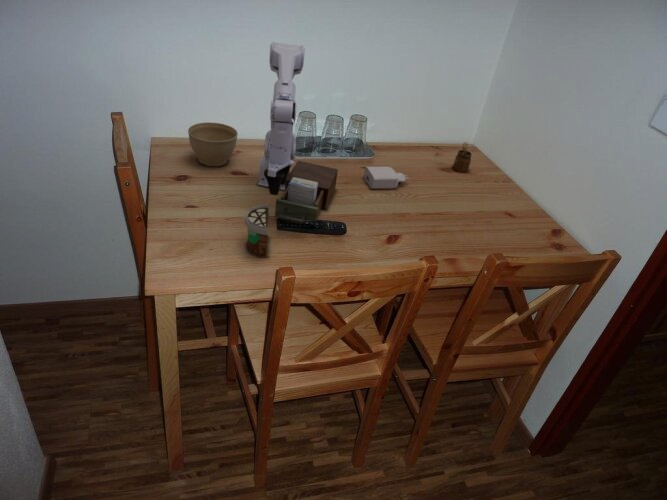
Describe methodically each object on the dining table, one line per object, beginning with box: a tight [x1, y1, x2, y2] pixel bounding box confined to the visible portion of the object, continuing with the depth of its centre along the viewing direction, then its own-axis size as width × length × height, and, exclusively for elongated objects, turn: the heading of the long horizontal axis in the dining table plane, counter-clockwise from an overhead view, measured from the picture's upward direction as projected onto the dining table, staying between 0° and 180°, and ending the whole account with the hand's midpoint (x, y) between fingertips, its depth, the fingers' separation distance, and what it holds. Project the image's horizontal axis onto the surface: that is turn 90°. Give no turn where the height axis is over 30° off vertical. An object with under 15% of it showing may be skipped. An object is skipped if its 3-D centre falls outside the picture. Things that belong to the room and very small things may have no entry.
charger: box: [363, 166, 410, 190], centre depth 178 cm, size 5×9×15 cm
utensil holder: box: [452, 141, 472, 173], centre depth 194 cm, size 6×6×12 cm
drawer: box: [274, 185, 325, 225], centre depth 151 cm, size 19×12×6 cm, turn 168°
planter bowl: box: [187, 122, 238, 167], centre depth 173 cm, size 16×16×11 cm
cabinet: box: [284, 160, 339, 211], centre depth 163 cm, size 15×14×8 cm
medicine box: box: [288, 177, 318, 206], centre depth 151 cm, size 8×4×9 cm, turn 78°
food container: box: [244, 204, 270, 258], centre depth 135 cm, size 12×6×10 cm, turn 5°
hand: (277, 188), depth 144 cm, fingers open, 6 cm apart
